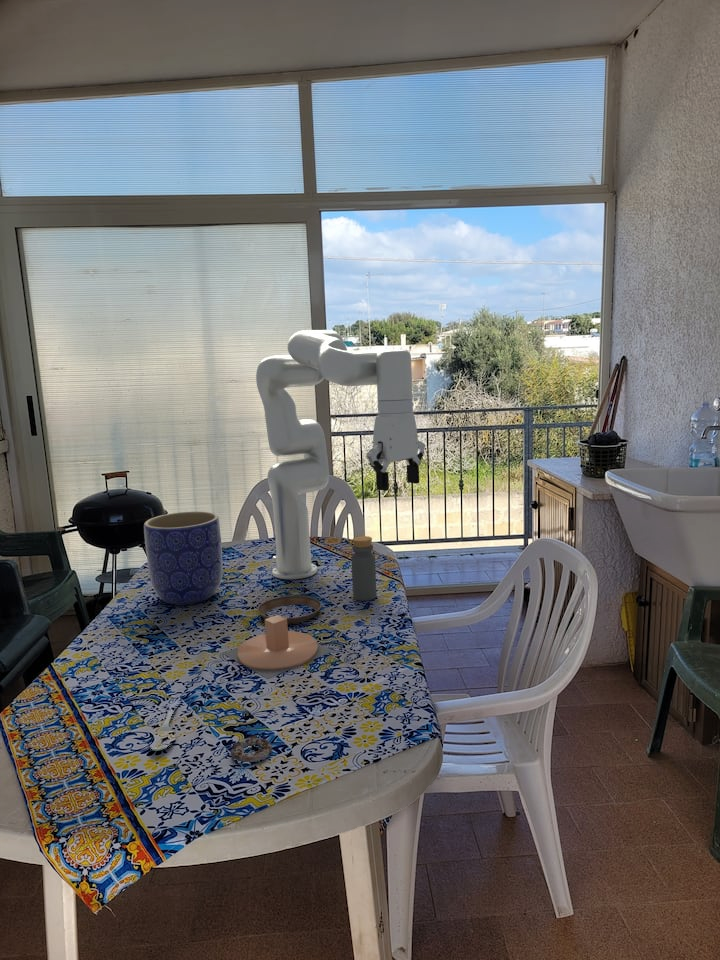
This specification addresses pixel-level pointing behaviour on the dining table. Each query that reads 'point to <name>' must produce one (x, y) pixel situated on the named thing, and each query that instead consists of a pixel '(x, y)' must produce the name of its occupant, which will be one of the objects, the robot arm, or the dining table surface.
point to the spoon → (165, 728)
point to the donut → (259, 755)
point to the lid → (277, 647)
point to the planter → (184, 556)
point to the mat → (270, 673)
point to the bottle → (363, 569)
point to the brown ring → (290, 600)
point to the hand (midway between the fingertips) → (398, 486)
